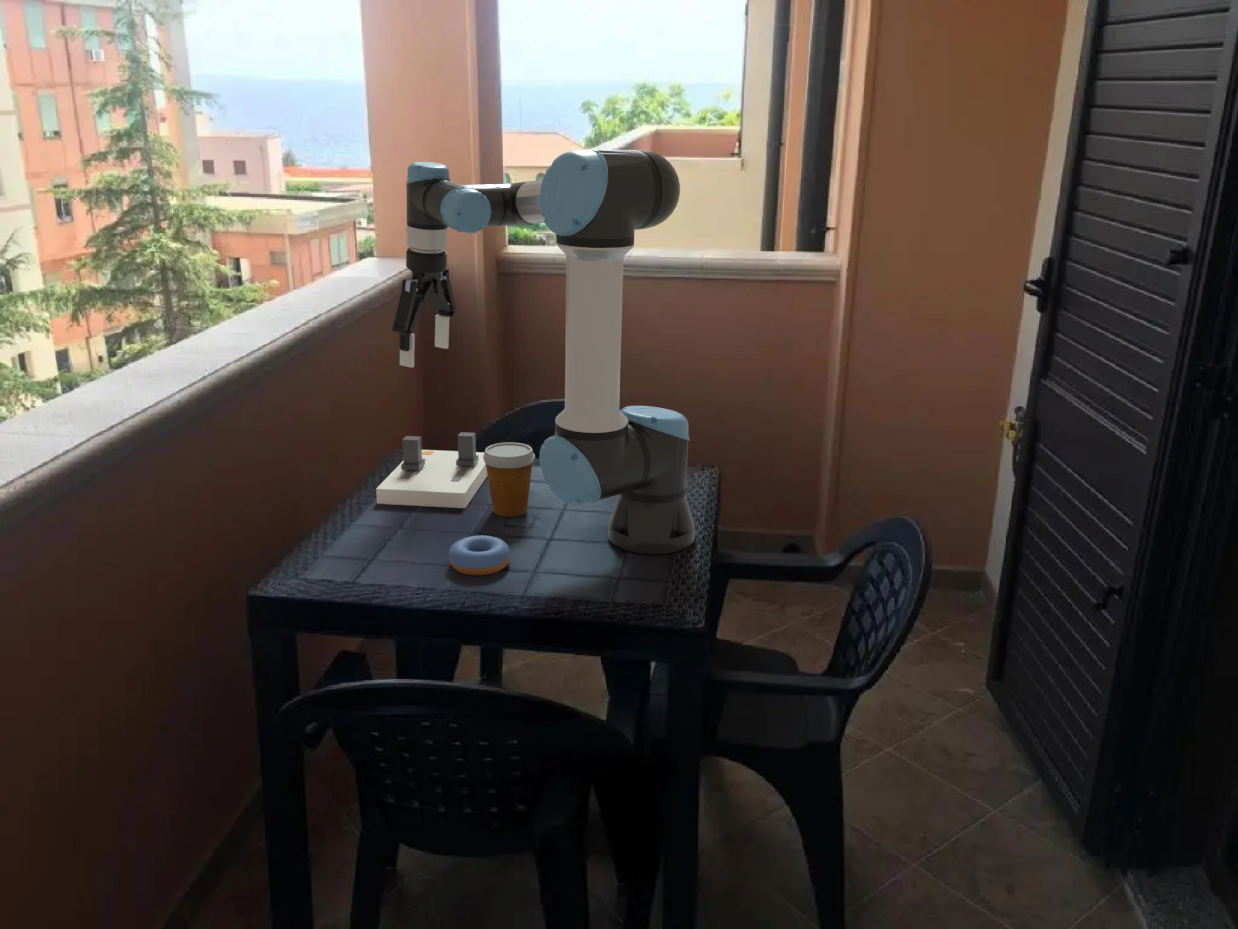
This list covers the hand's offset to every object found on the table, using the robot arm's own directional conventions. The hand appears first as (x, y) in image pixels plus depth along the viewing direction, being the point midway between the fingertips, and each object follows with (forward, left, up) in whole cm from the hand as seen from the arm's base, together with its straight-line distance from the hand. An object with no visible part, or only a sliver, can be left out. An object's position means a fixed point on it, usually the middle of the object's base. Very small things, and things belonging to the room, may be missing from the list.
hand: (424, 356), depth 192 cm
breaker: (-1, -8, -21) cm, 23 cm away
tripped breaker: (-5, +2, -21) cm, 22 cm away
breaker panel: (-5, -3, -25) cm, 25 cm away
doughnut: (-41, -20, -25) cm, 52 cm away
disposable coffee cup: (-17, -20, -25) cm, 36 cm away
